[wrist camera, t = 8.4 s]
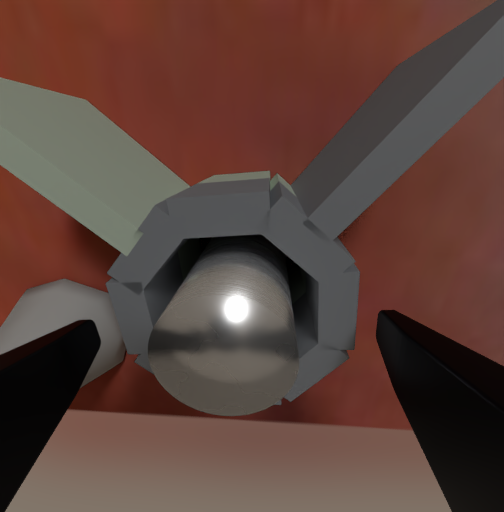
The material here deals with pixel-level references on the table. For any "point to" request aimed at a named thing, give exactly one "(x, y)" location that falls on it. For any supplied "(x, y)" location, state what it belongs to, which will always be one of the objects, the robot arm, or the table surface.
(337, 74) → the table surface
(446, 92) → the grey hollow faceted fixture
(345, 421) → the table surface
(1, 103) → the pale green bracket
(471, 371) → the robot arm
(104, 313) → the flask
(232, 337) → the pin
